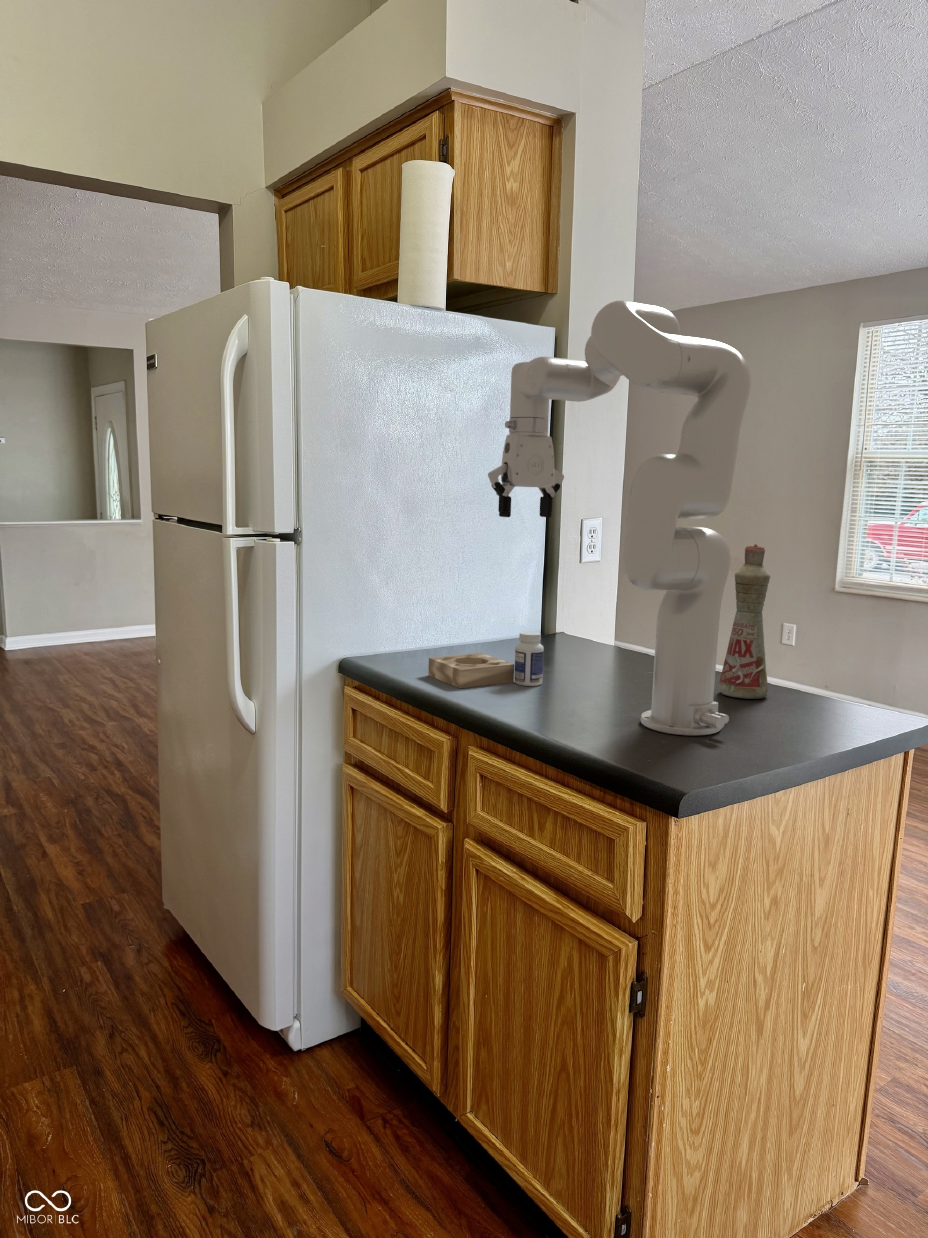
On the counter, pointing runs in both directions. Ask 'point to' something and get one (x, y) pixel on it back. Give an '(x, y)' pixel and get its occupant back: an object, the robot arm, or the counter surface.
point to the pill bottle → (529, 659)
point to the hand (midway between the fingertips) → (525, 516)
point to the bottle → (747, 632)
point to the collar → (471, 670)
